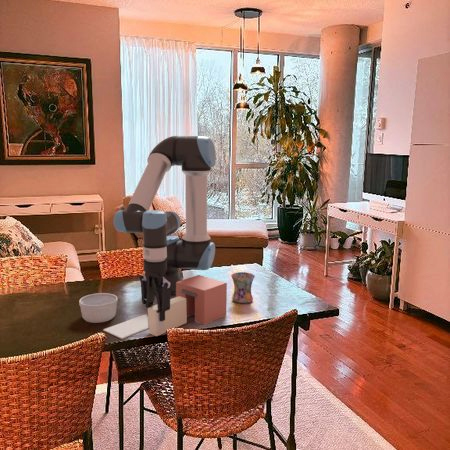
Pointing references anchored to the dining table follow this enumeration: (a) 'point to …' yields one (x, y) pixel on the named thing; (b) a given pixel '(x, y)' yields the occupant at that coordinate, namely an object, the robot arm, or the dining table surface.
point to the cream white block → (169, 316)
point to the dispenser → (203, 298)
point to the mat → (129, 327)
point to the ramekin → (98, 307)
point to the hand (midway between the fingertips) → (156, 327)
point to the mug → (242, 287)
